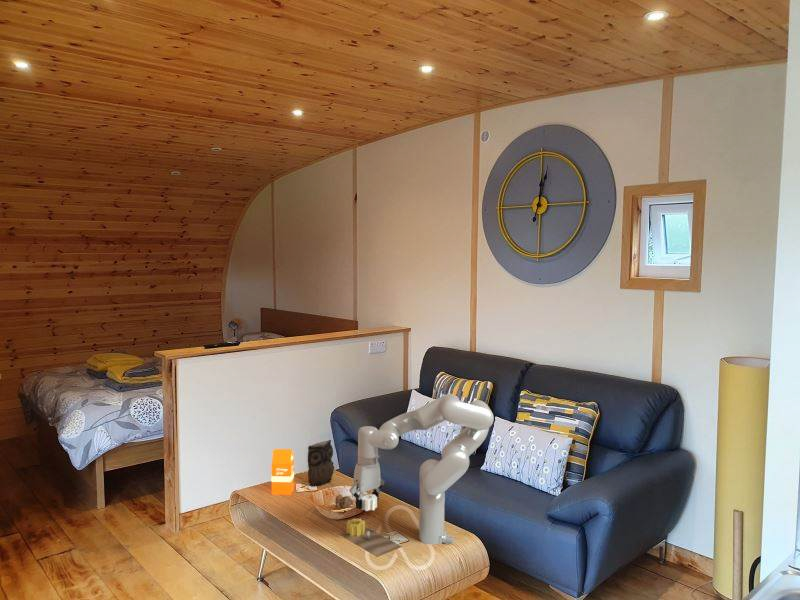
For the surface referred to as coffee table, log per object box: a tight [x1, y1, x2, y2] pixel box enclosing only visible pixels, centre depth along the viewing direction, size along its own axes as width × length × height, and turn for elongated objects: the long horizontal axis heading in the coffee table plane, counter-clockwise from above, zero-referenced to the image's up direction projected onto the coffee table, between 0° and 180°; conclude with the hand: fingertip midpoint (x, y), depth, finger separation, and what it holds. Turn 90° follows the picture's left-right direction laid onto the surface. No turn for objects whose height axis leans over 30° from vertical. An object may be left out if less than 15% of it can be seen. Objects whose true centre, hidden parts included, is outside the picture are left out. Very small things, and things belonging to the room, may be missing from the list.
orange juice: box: [270, 448, 295, 496], centre depth 282 cm, size 8×9×20 cm
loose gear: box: [361, 492, 378, 512], centre depth 232 cm, size 7×7×4 cm
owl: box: [307, 439, 335, 488], centre depth 293 cm, size 13×13×20 cm
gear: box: [346, 517, 366, 536], centre depth 239 cm, size 7×7×4 cm
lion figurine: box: [334, 494, 355, 510], centre depth 260 cm, size 15×5×9 cm, turn 34°
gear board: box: [337, 525, 403, 558], centre depth 232 cm, size 24×12×4 cm, turn 41°
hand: (367, 505), depth 232 cm, fingers closed on loose gear, 7 cm apart
